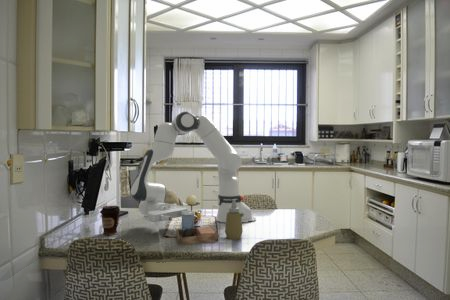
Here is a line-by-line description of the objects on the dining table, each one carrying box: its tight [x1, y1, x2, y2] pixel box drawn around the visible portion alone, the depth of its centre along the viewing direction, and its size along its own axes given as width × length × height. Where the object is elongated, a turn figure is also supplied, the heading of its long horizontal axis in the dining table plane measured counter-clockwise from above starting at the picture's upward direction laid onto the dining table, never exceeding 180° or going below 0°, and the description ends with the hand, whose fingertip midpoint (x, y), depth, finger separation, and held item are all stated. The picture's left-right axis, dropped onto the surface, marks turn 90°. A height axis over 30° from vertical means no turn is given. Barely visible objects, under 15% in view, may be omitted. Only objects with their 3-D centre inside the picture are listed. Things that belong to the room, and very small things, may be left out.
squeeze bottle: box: [224, 200, 244, 241], centre depth 141 cm, size 8×8×18 cm
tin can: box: [181, 210, 195, 237], centre depth 139 cm, size 6×6×12 cm
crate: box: [175, 226, 219, 245], centre depth 140 cm, size 17×13×4 cm
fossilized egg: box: [164, 188, 180, 206], centre depth 189 cm, size 13×13×15 cm
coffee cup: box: [100, 205, 121, 236], centre depth 148 cm, size 9×8×13 cm
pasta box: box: [196, 226, 216, 236], centre depth 141 cm, size 6×10×4 cm, turn 15°
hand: (177, 216), depth 144 cm, fingers open, 8 cm apart
